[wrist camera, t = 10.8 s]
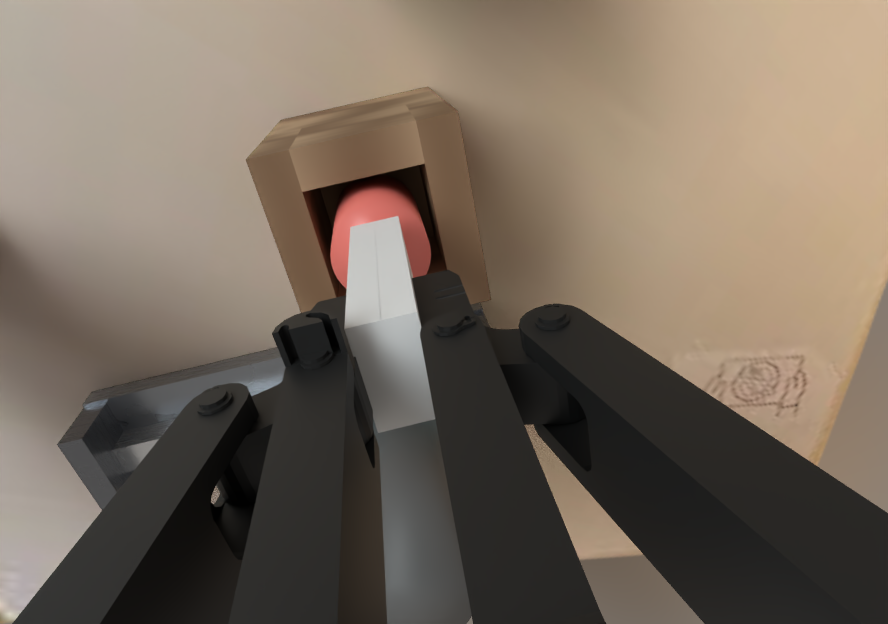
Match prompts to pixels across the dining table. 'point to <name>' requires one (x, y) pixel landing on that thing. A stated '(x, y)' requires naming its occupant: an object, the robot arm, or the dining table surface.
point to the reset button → (372, 204)
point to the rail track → (154, 415)
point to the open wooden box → (362, 155)
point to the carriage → (419, 530)
